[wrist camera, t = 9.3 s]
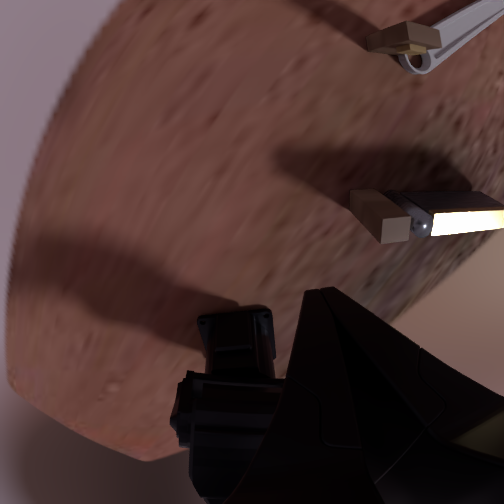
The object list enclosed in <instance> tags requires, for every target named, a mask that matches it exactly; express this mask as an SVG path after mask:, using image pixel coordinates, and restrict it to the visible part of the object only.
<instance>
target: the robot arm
mask: <svg viewBox="0 0 504 504" xmlns="http://www.w3.org/2000/svg"><path fill="white" fill-rule="evenodd" d="M264 314H268V315H264ZM202 321H205V322H202ZM197 324H198V327H199V331H200V334H201V337H202V340H203V343H204V346H205V349H206V352H207V353H206V365H205V373H196V372H194V371H189V370H187V374H186V378H183V381H182V382H180V383H178V387H177V394H176V400H175V404H174V407H173V410H172V413H171V417H170V425H171V427H172V428H173V429H174V430H175V431H176V435H177V438H179V447H182V448H190V454H189V456H190V457H189V477H190V479H191V481H192V482H193V485H194V487H195V489H196V491H197V492H198V494H199V496H200V497H201V498H204V500H205V502H206V503H207V504H504V397H503V396H501V395H499V394H497V393H495V392H493V391H491V390H490V389H488V388H486V387H484V386H483V385H481V384H479V383H477V382H476V381H474V380H472V379H470V378H469V377H467V376H465V375H463V374H462V373H460V372H458V371H457V370H455V369H453V368H452V367H450V366H448V365H447V364H445V363H443V362H442V361H441V360H439V359H438V358H436V357H435V356H433V355H431V354H430V353H429V352H427V351H426V350H424V349H423V348H420V346H419V345H417V344H416V343H415V342H413V341H412V340H410V339H409V338H407V337H406V336H405V335H403V334H402V333H400V332H399V331H397V330H396V329H395V328H393V327H392V326H390V325H389V324H387V323H386V322H385V321H383V320H382V319H380V318H379V317H377V316H376V315H375V314H373V313H372V312H370V311H369V310H367V309H366V308H364V307H363V306H361V305H360V304H359V303H357V302H356V301H354V300H353V299H351V298H350V297H348V296H347V295H345V294H344V293H343V292H341V291H340V290H338V289H337V288H335V287H325V288H321V289H320V290H319V289H311V290H306V291H305V292H304V296H303V301H302V305H301V310H300V315H299V320H298V325H297V329H296V334H295V338H294V343H293V347H292V351H291V356H290V360H289V364H288V368H287V373H286V378H285V379H278V378H275V370H274V363H273V360H274V359H275V358H276V350H275V338H274V327H273V316H272V311H271V310H270V309H258V310H249V311H240V312H231V313H222V314H212V315H202V316H199V317H198V319H197Z"/></svg>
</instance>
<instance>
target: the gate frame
mask: <svg viewBox="0 0 504 504" xmlns="http://www.w3.org/2000/svg"><path fill="white" fill-rule="evenodd" d="M366 41H367V48H368V52H376V53H383V54H391V55H402V54H407V55H419V54H426V50H431V49H439V48H442V43H441V37H440V31H439V30H438V29H435V28H432V27H428V26H425V25H421V24H417V23H413V22H409V21H404V22H401V23H399V24H396V25H393V26H391V27H388V28H385V29H383V30H380V31H378V32H376V33H373V34H371V35H368V36H366ZM349 211H350V212H351V213H352V214H353V215H354V216H355V217H356V218H357V219H358V220H359V221H360V222H361V223H362V224H363V225H364V226H365V227H366V229H367V230H368V231H369V232H370V233H371V234H372V235H373V236H374V237H375V238H376V240H377V241H378V242H379V243H380V244H386V243H393V242H400V241H408V238H409V231H410V223H411V216H410V215H409V214H408V213H406V212H405V211H404V210H403V209H401V208H400V207H399V206H397V205H396V204H395V203H393V202H392V201H391V200H389V199H388V198H387V197H385V196H384V195H382V194H381V193H380V192H378V191H377V190H375V189H374V188H373V189H358V190H350V210H349Z"/></svg>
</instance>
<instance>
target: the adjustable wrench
mask: <svg viewBox="0 0 504 504" xmlns="http://www.w3.org/2000/svg"><path fill="white" fill-rule="evenodd" d="M503 14H504V0H477V1H475V2H473V3H471V4H469V5H467V6H466V7H464V8H462V9H460V10H458V11H456V12H455V13H453V14H451V15H449V16H448V17H446V18H444V19H442V20H441V21H439V22H437V23H436V24H434V25H432V26H431V27H432V28H435V29H438V30H439V31H440V37H441V43H442V48H439V49H431V50H426V54H420V55H421V58H422V65H421V67H420V68H414V67H413V66H412V65H411V64H410V62H409V60H408V56H407V54H402V55H398V58H399V61H400V63H401V65H402V67H403V68H404V69H405V70H406V71H408V72H409V73H412V74H426V73H428V72H430V71H431V70H432V69H434V68H435V67H436V66H437V65H439V64H440V63H441V62H442V61H444V60H445V59H446V58H447V57H449V56H450V55H451V54H452V53H454V52H455V51H456V50H458V49H459V48H460V47H461V46H463V45H464V44H465V43H466V42H468V41H469V40H470V39H472V38H473V37H474V36H476V35H477V34H478V33H479V32H481V31H482V30H483V29H485V28H486V27H487V26H489V25H490V24H491V23H493V22H494V21H495V20H497V19H498V18H499V17H501V16H502V15H503Z"/></svg>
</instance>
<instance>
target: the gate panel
mask: <svg viewBox="0 0 504 504" xmlns="http://www.w3.org/2000/svg"><path fill="white" fill-rule="evenodd" d="M384 196H385V197H387V198H388V199H389V200H391V201H392V202H393V203H395V204H396V205H397V206H399V207H400V208H401V209H403V210H404V211H405V212H406V213H408V214H409V215H410V216H411V223H410V230H411V231H412V232H413V233H414V234H415V235H416V236H417V237H419V238H424V237H426V236H428V235H429V234H430V235H431V236H433V235H442V234H451V233H461V232H470V231H479V230H488V229H497V228H504V205H503V204H501V203H500V202H498V201H496V200H494V199H493V198H491V197H489V196H487V195H486V194H484V193H482V192H480V191H429V192H400V194H399V193H398V192H396V191H394V190H389V191H387V192H385V193H384Z"/></svg>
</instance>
